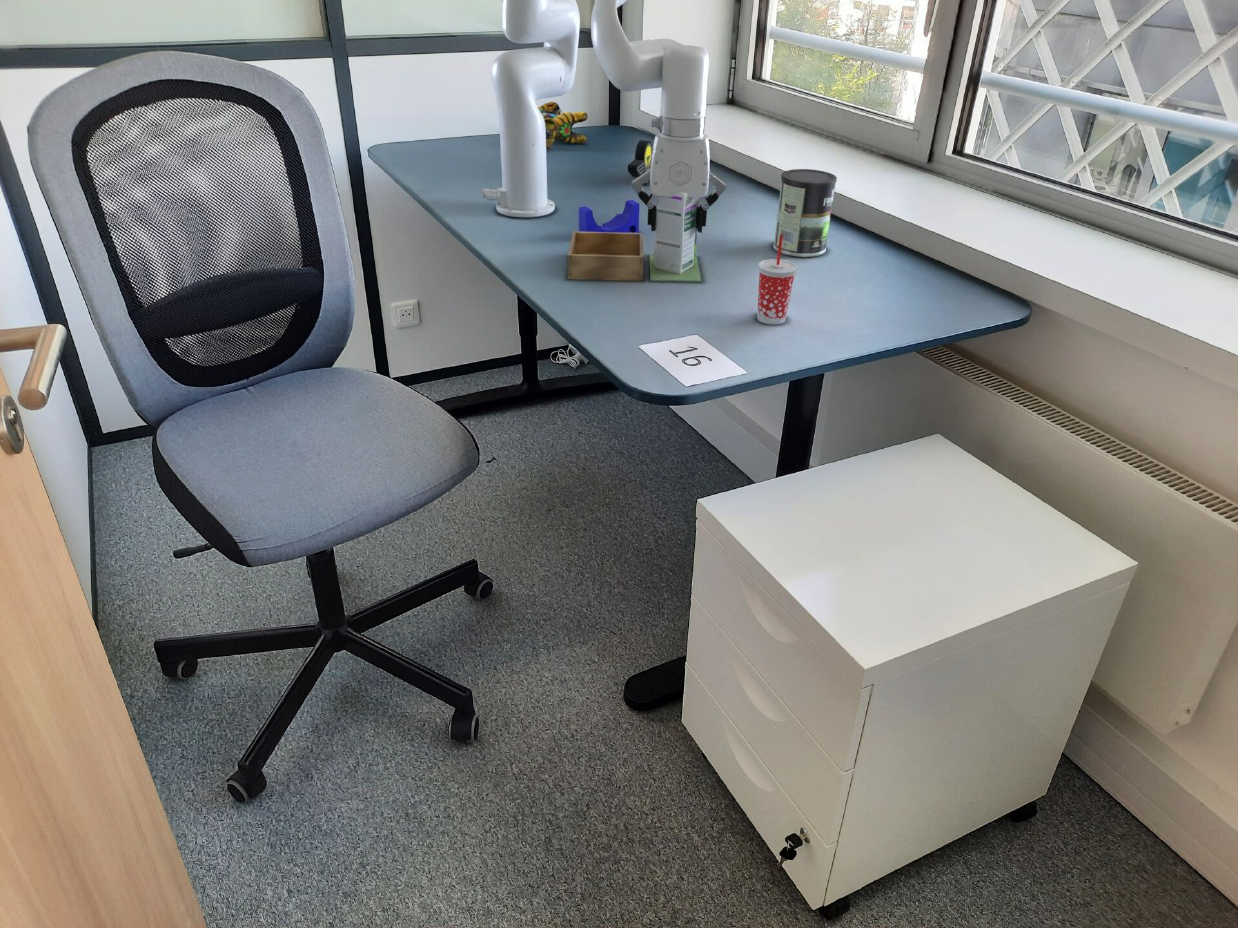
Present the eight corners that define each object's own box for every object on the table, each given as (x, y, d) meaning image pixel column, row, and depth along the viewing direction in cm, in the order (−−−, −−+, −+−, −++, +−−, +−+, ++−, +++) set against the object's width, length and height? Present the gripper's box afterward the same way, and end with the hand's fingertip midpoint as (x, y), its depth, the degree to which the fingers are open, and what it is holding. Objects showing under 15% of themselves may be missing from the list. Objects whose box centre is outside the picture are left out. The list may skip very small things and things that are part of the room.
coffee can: (829, 244, 175) (840, 172, 167) (821, 260, 167) (832, 185, 159) (778, 237, 178) (787, 166, 170) (767, 253, 170) (776, 179, 162)
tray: (568, 279, 156) (568, 255, 154) (572, 254, 167) (572, 231, 165) (642, 281, 156) (643, 257, 154) (642, 255, 167) (642, 233, 165)
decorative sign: (635, 194, 202) (637, 149, 196) (626, 193, 202) (628, 148, 197) (668, 166, 223) (670, 125, 218) (660, 165, 224) (662, 124, 219)
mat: (650, 281, 156) (650, 279, 156) (649, 256, 167) (649, 254, 167) (700, 282, 156) (701, 280, 156) (696, 257, 167) (696, 255, 167)
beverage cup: (776, 329, 139) (787, 243, 132) (744, 319, 143) (753, 234, 135) (797, 318, 143) (809, 234, 136) (765, 308, 147) (775, 225, 139)
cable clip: (627, 227, 182) (628, 198, 178) (638, 233, 178) (639, 204, 175) (575, 235, 177) (575, 205, 174) (585, 241, 173) (585, 211, 170)
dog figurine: (553, 148, 254) (504, 152, 243) (550, 102, 250) (499, 104, 239) (599, 146, 240) (549, 150, 229) (596, 97, 236) (545, 99, 225)
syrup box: (680, 275, 158) (686, 194, 150) (652, 268, 161) (656, 188, 153) (695, 265, 162) (701, 186, 154) (667, 259, 165) (672, 181, 157)
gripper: (630, 130, 145) (627, 235, 155) (735, 133, 145) (726, 237, 155) (630, 121, 151) (627, 222, 161) (731, 123, 151) (722, 224, 161)
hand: (676, 229), depth 158 cm, fingers closed on syrup box, 7 cm apart
